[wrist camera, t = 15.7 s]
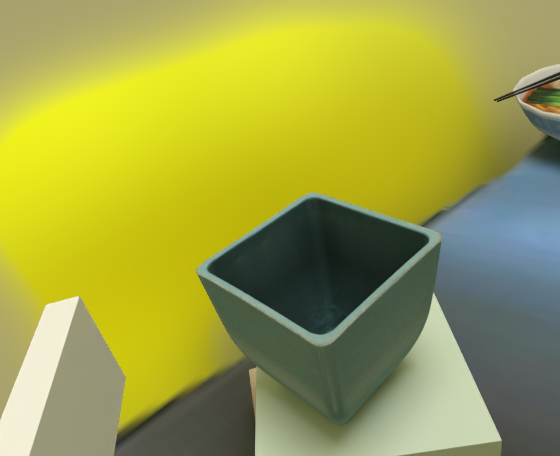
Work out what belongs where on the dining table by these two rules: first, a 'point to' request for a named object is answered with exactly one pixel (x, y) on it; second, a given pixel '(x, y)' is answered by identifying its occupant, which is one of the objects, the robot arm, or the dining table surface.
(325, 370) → the flower pot
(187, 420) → the dining table surface
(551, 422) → the dining table surface
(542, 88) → the ramen bowl
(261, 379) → the sage block
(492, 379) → the dining table surface
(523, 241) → the dining table surface
